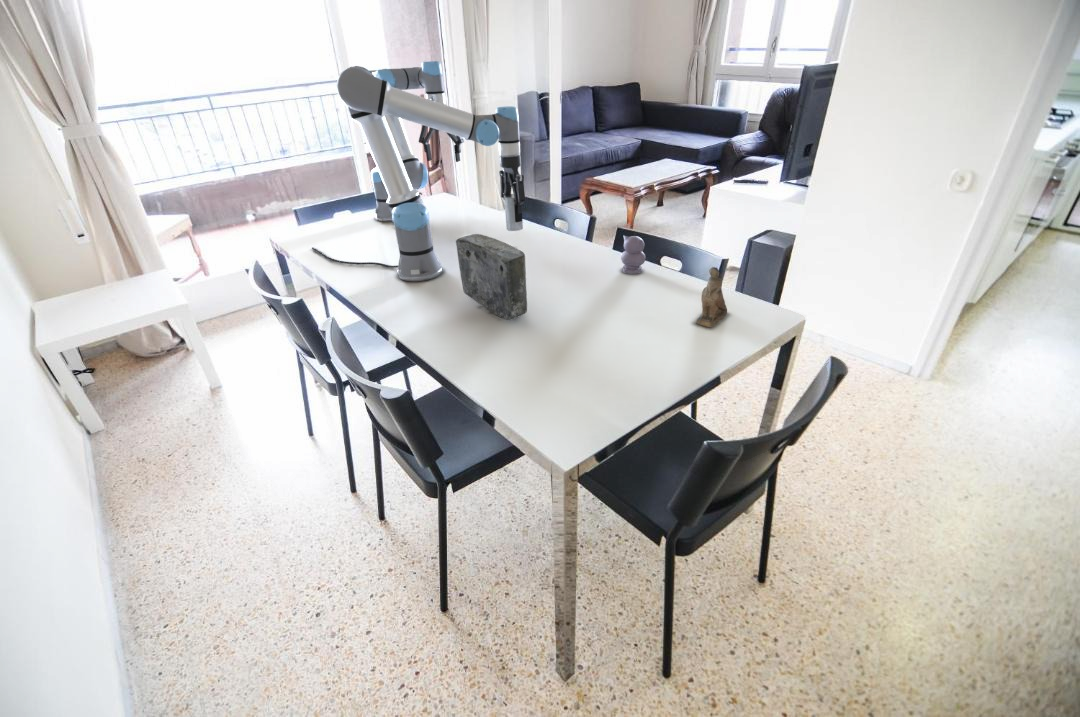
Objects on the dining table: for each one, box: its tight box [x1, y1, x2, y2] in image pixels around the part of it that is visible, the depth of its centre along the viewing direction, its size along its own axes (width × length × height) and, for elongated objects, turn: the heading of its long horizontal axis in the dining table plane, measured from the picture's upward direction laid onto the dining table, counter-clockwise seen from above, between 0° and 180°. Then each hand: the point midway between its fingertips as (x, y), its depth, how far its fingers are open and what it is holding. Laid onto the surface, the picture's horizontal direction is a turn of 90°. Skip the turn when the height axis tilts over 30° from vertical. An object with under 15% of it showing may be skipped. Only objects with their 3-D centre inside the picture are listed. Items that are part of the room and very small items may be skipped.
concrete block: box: [455, 233, 528, 321], centre depth 143 cm, size 27×9×20 cm, turn 36°
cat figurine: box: [620, 234, 646, 275], centre depth 168 cm, size 9×8×12 cm
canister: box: [503, 193, 524, 232], centre depth 188 cm, size 6×6×12 cm
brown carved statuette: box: [695, 266, 728, 328], centre depth 135 cm, size 12×6×18 cm, turn 136°
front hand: (514, 219), depth 189 cm, fingers closed on canister, 6 cm apart
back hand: (443, 161), depth 212 cm, fingers open, 13 cm apart
